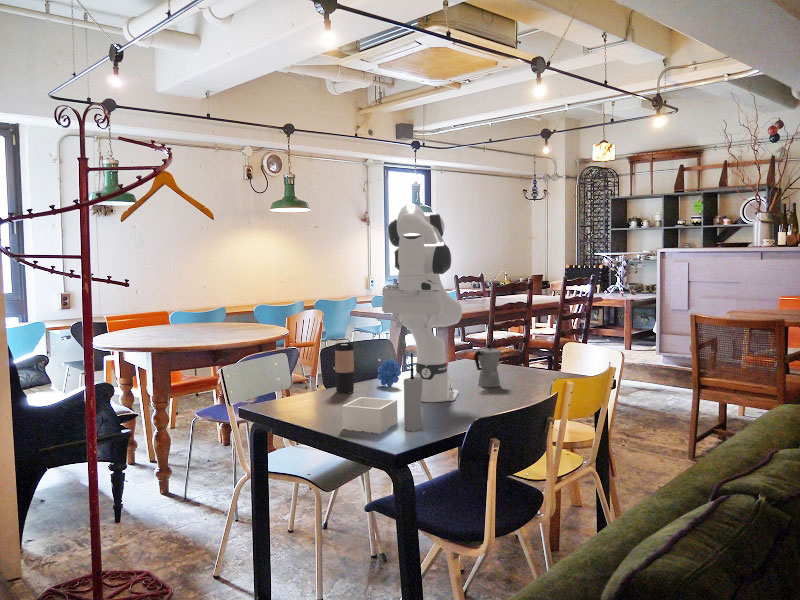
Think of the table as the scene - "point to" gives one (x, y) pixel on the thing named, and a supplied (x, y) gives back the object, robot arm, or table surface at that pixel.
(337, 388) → the travel mug
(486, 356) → the coffeepot
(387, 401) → the bin
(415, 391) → the vintage mobile phone
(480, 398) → the table surface
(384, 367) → the grapes
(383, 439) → the table surface
